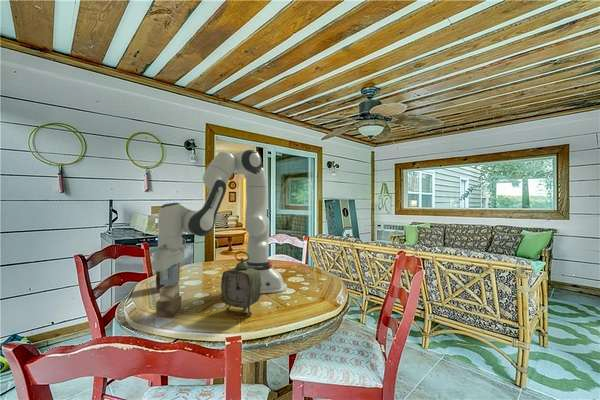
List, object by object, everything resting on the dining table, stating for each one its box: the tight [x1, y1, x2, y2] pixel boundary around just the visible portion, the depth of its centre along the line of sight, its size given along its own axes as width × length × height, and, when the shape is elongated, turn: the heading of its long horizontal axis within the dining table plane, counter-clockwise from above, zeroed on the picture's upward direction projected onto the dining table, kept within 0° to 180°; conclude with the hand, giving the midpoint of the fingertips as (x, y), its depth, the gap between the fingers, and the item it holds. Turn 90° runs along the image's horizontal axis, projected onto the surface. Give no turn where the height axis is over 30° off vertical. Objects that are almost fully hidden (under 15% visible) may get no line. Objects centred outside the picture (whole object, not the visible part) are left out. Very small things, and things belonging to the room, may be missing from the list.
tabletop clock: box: [220, 250, 262, 317], centre depth 116 cm, size 14×9×25 cm, turn 66°
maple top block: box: [159, 284, 180, 302], centre depth 114 cm, size 6×6×5 cm
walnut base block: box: [155, 295, 182, 318], centre depth 114 cm, size 7×7×6 cm
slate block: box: [160, 264, 178, 285], centre depth 114 cm, size 5×5×7 cm
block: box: [155, 262, 181, 289], centre depth 147 cm, size 11×8×20 cm
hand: (169, 277), depth 114 cm, fingers closed on slate block, 5 cm apart
